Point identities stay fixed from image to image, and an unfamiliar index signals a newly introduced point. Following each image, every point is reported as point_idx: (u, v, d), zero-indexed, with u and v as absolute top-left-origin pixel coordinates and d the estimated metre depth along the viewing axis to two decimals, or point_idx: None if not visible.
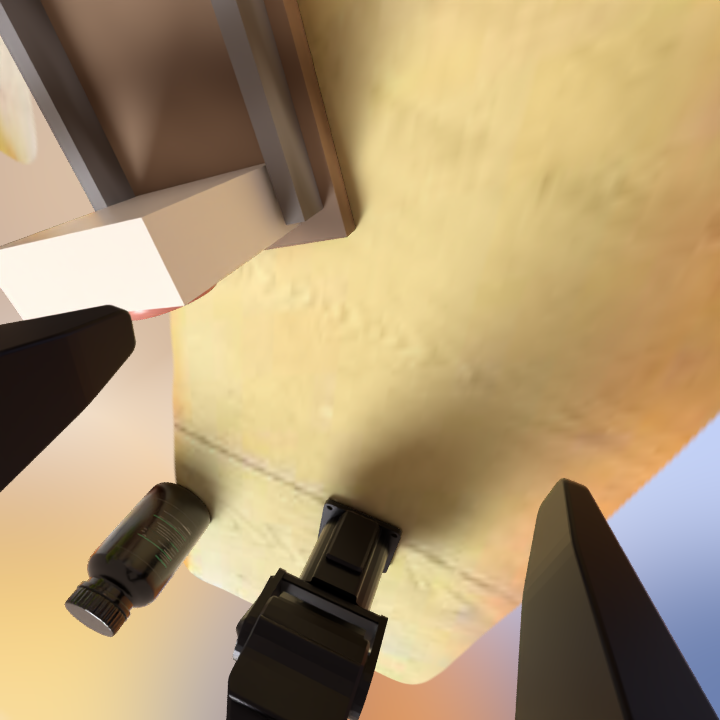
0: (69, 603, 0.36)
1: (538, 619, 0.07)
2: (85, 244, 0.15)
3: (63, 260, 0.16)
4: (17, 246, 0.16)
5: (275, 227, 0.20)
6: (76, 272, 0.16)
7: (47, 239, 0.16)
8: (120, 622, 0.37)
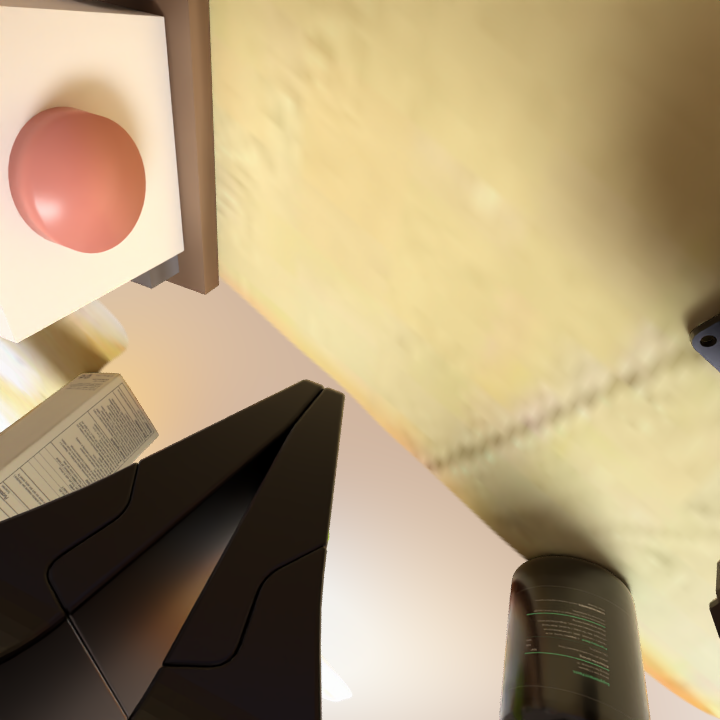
0: None
1: None
2: None
3: None
4: None
5: (105, 10, 0.15)
6: None
7: None
8: None
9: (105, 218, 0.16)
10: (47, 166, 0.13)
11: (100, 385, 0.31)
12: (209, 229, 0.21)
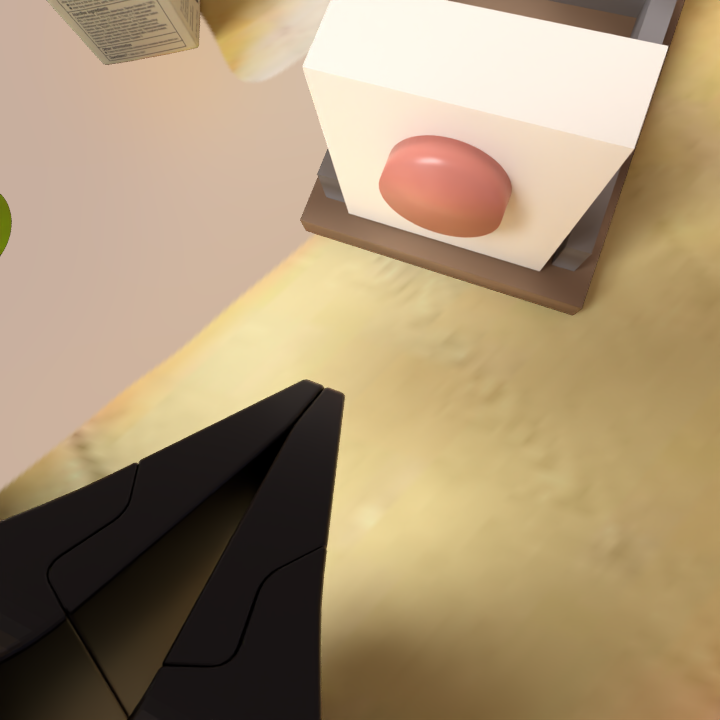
0: None
1: None
2: (546, 36, 0.12)
3: (486, 35, 0.12)
4: None
5: None
6: (489, 54, 0.12)
7: (488, 10, 0.12)
8: None
9: (409, 197, 0.16)
10: (472, 188, 0.14)
11: (186, 18, 0.24)
12: (365, 245, 0.22)
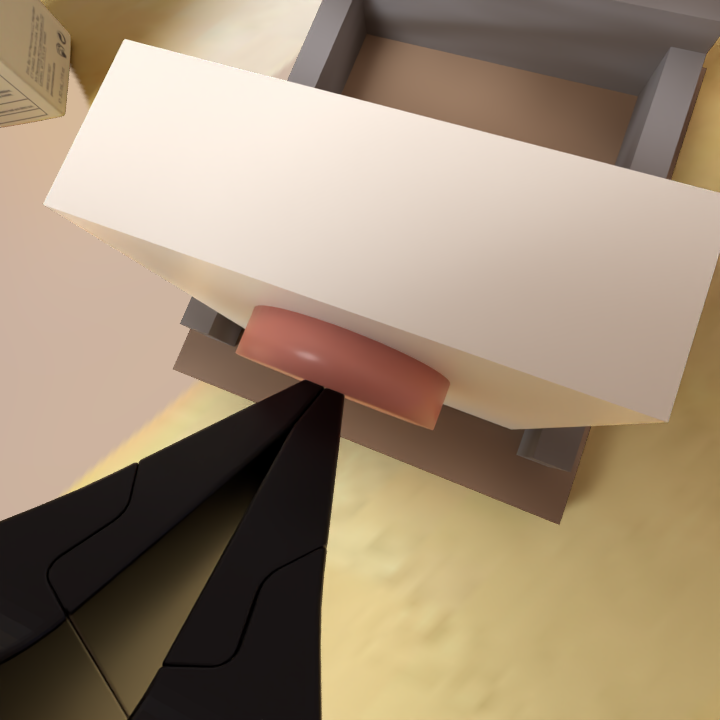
0: None
1: None
2: (490, 164, 0.06)
3: (377, 159, 0.06)
4: (271, 79, 0.07)
5: None
6: (380, 196, 0.06)
7: (382, 108, 0.06)
8: None
9: (290, 375, 0.10)
10: None
11: (38, 82, 0.18)
12: None
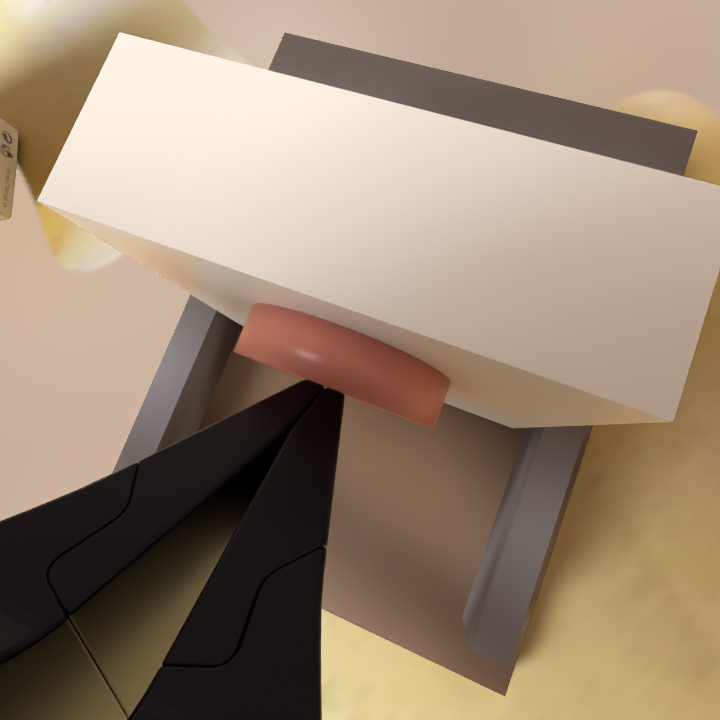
0: None
1: None
2: (492, 159, 0.06)
3: (377, 153, 0.06)
4: (268, 72, 0.07)
5: None
6: (379, 191, 0.06)
7: (381, 102, 0.06)
8: None
9: (289, 373, 0.10)
10: (372, 402, 0.08)
11: None
12: None
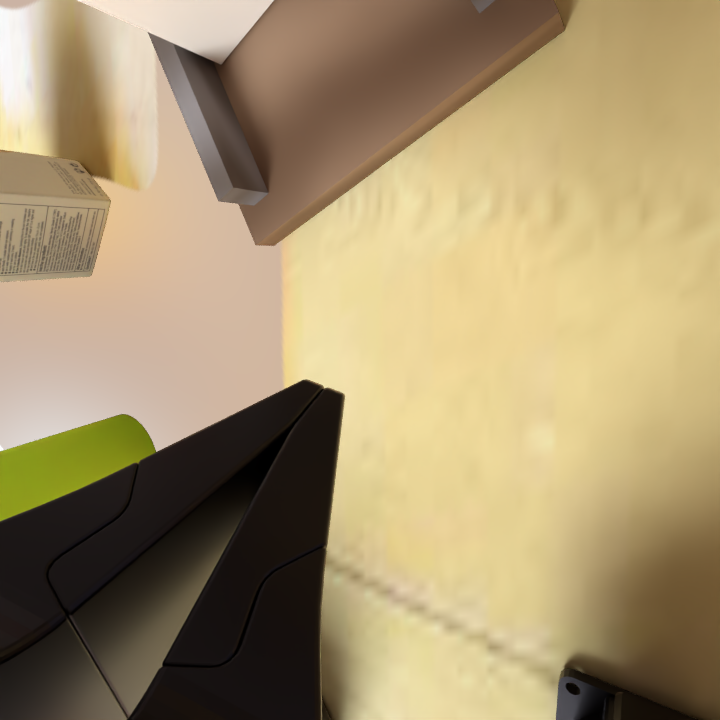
0: None
1: None
2: None
3: None
4: None
5: None
6: None
7: None
8: None
9: None
10: None
11: (83, 193, 0.26)
12: (316, 207, 0.19)
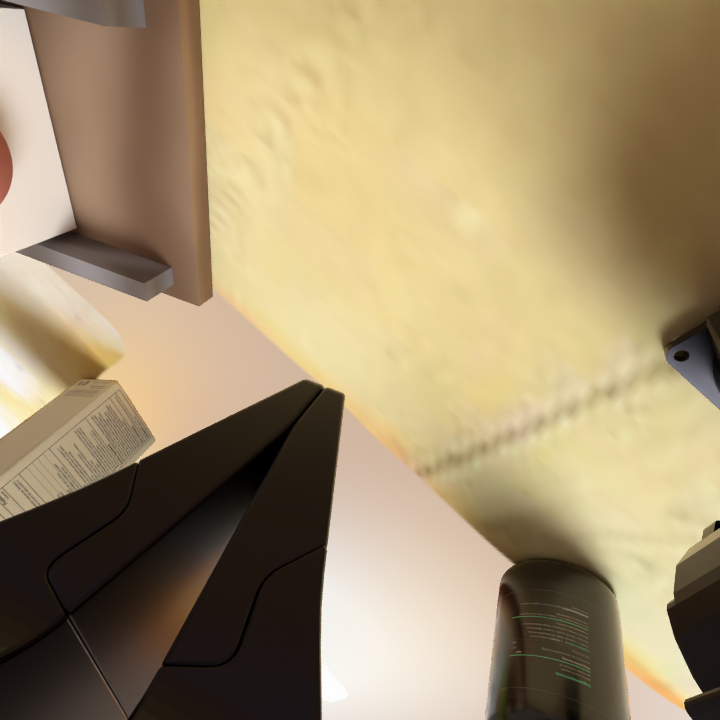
0: None
1: None
2: None
3: None
4: None
5: None
6: None
7: None
8: None
9: None
10: None
11: (97, 392, 0.31)
12: (202, 243, 0.22)
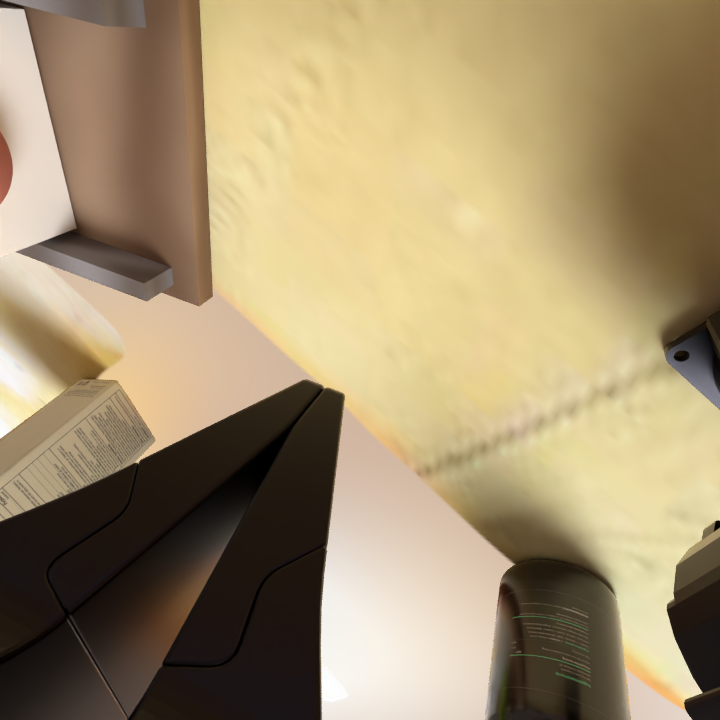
0: None
1: None
2: None
3: None
4: None
5: None
6: None
7: None
8: None
9: None
10: None
11: (97, 392, 0.31)
12: (202, 243, 0.22)
